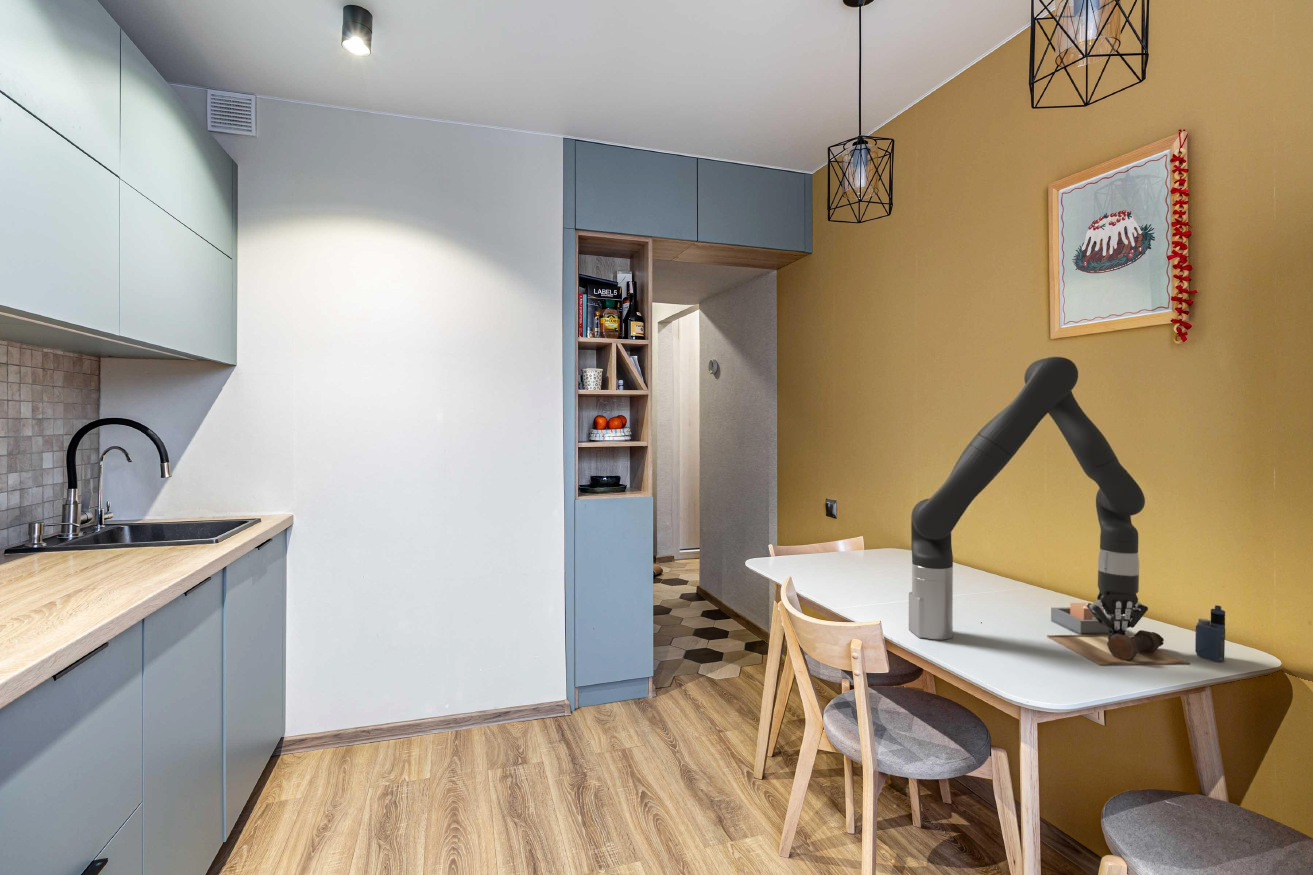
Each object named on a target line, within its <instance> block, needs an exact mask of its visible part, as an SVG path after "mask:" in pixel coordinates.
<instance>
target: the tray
mask: <svg viewBox="0 0 1313 875" xmlns="http://www.w3.org/2000/svg"><path fill="white" fill-rule="evenodd" d="M1104 614H1105V611H1104ZM1050 622H1052V623H1054V624H1056V625H1059V626H1061V627H1062V628H1064V629H1067V630H1069V631H1071V632H1073V633H1074V634H1076V635H1101V634H1108V627H1106V626H1104V625H1102V624H1100V623H1099V622H1098V620H1081V619H1079V618H1077V617H1074V616H1072V615H1070V606H1069V607H1051V608H1050Z"/></svg>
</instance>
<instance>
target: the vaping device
mask: <svg viewBox="0 0 1313 875" xmlns="http://www.w3.org/2000/svg"><path fill="white" fill-rule="evenodd" d="M1225 615H1226V611H1225V610H1223V609H1222V606H1221V605H1217V604H1215V605H1214V608H1210V620H1209V619H1207V618H1198V622H1197V623H1196V625H1195V641H1194V642H1195V647H1194V648H1195V650H1194V651H1195V653H1196V656H1197V657H1200V658H1202V657H1203V658H1202V659H1205V658H1206V660H1208V659H1209V660H1208V661H1212V660H1213V661H1212V662H1215V661H1217V662H1216V663H1223V662H1225V655H1226V654H1225V653H1226V652H1225V643H1226V642H1225V641H1226V630H1227V629H1226V616H1225ZM1222 661H1223V662H1222Z"/></svg>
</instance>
